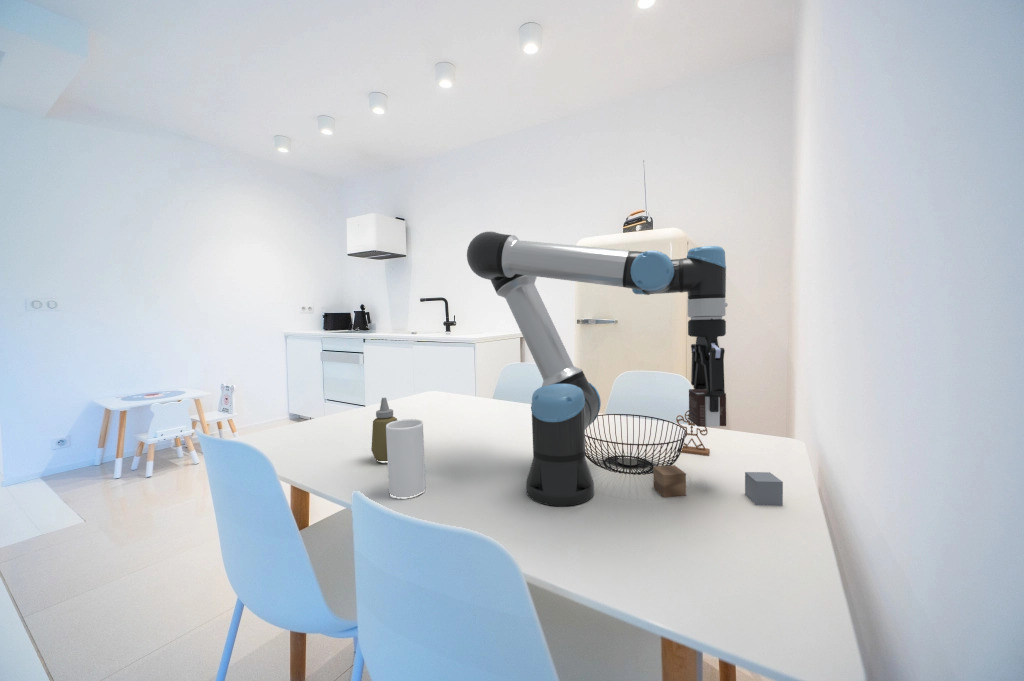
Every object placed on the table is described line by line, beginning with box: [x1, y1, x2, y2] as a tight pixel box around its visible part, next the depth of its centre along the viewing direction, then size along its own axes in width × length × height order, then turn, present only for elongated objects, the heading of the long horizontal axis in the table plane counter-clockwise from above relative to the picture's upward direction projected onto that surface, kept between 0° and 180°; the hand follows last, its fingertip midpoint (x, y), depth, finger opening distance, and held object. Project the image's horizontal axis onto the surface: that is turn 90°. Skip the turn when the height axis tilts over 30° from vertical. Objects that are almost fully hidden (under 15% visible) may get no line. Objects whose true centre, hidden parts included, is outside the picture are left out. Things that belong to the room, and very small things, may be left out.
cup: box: [386, 418, 427, 497], centre depth 93 cm, size 8×8×16 cm
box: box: [688, 388, 727, 428], centre depth 90 cm, size 6×6×7 cm
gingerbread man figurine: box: [675, 409, 711, 457], centre depth 114 cm, size 9×4×12 cm, turn 61°
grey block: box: [744, 471, 784, 507], centre depth 84 cm, size 5×5×5 cm
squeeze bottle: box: [371, 397, 398, 461], centre depth 115 cm, size 8×8×18 cm
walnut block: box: [652, 464, 687, 498], centre depth 89 cm, size 5×5×5 cm
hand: (706, 421), depth 90 cm, fingers closed on box, 6 cm apart
